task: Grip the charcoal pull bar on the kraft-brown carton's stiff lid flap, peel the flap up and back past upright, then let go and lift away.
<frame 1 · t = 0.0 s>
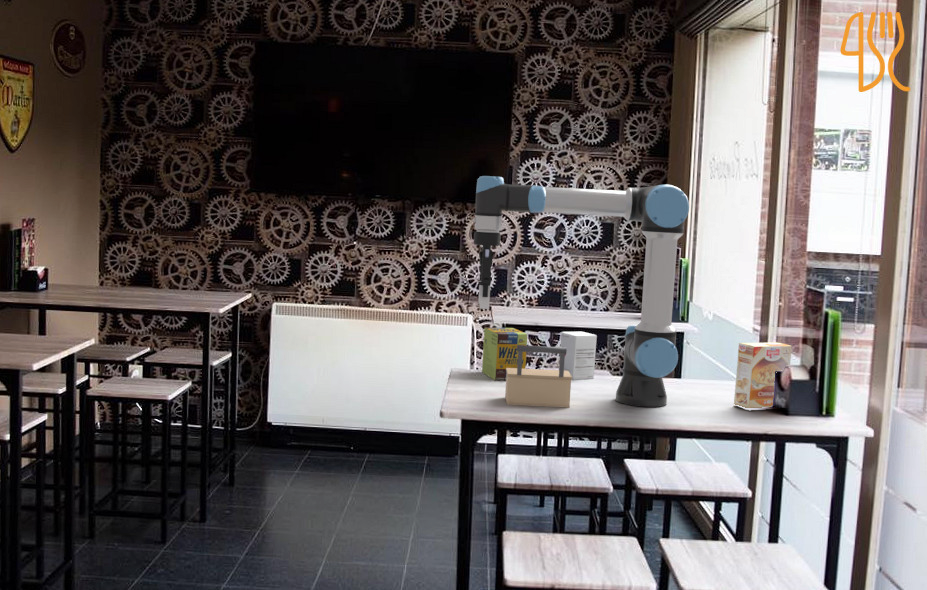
hand: (483, 306, 278), 28 cm above the table, tool pointing down, fingers open, 13 cm apart
protein box: (503, 377, 326), on the table
flap: (539, 359, 285), point 13 cm above the table, hinge at 0.0°
coffeecake box: (760, 408, 295), on the table
carton: (536, 402, 287), on the table
supplement box: (575, 377, 333), on the table
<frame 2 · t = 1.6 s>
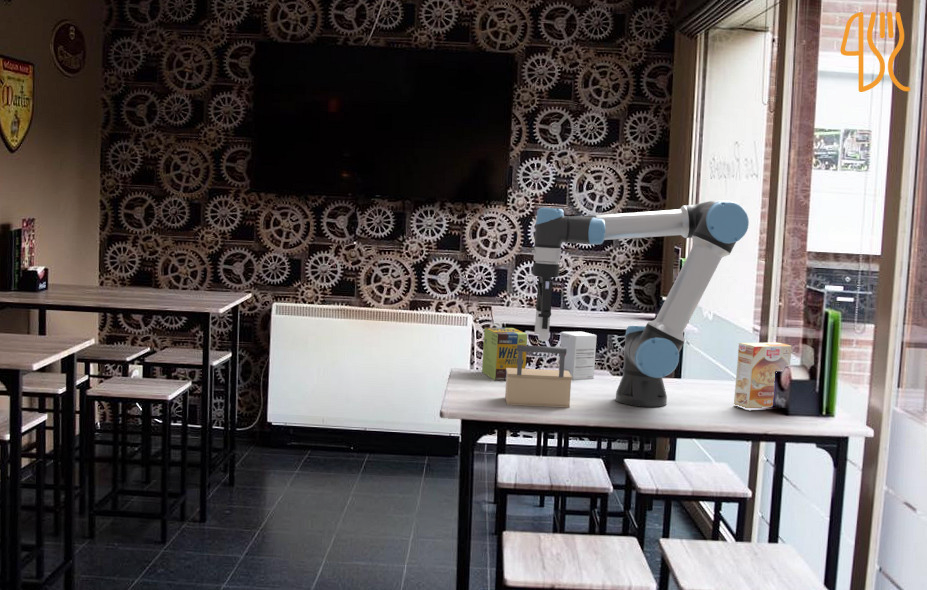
hand: (541, 337, 279), 20 cm above the table, tool pointing down, fingers open, 13 cm apart
nothing on the table moved.
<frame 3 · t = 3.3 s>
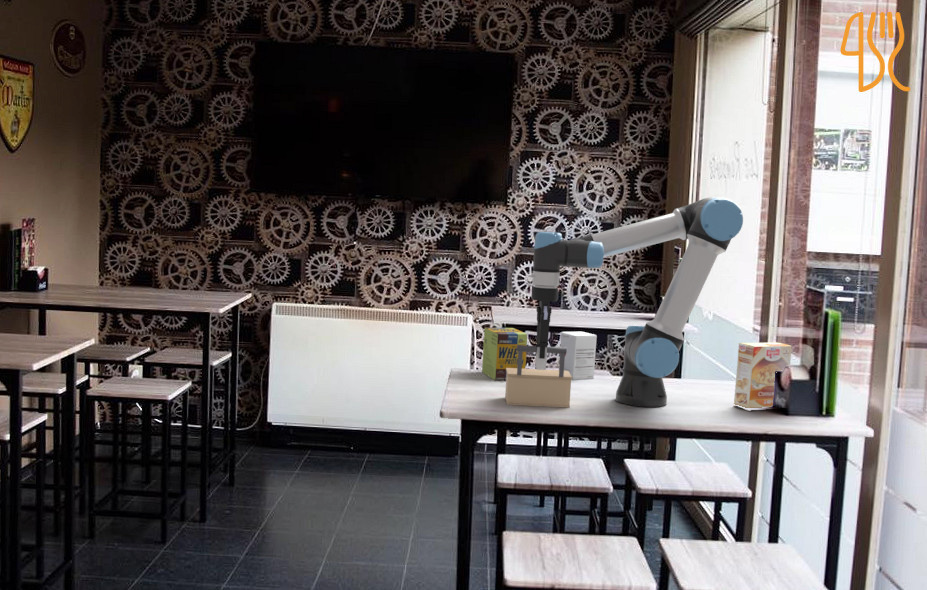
hand: (540, 368, 280), 11 cm above the table, tool pointing down, fingers closed on flap, 2 cm apart
flap: (539, 359, 285), point 13 cm above the table, hinge at 0.0°, touching gripper
everything else where it was.
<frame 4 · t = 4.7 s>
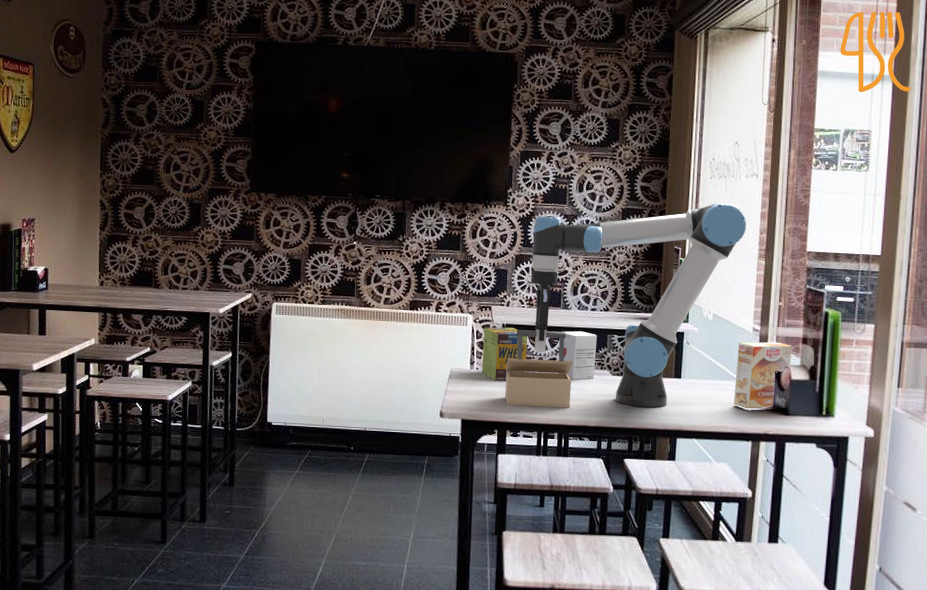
hand: (539, 351, 284), 15 cm above the table, tool pointing down, fingers open, 2 cm apart
flap: (539, 351, 287), point 15 cm above the table, hinge at 25.6°, touching gripper
everything else where it was.
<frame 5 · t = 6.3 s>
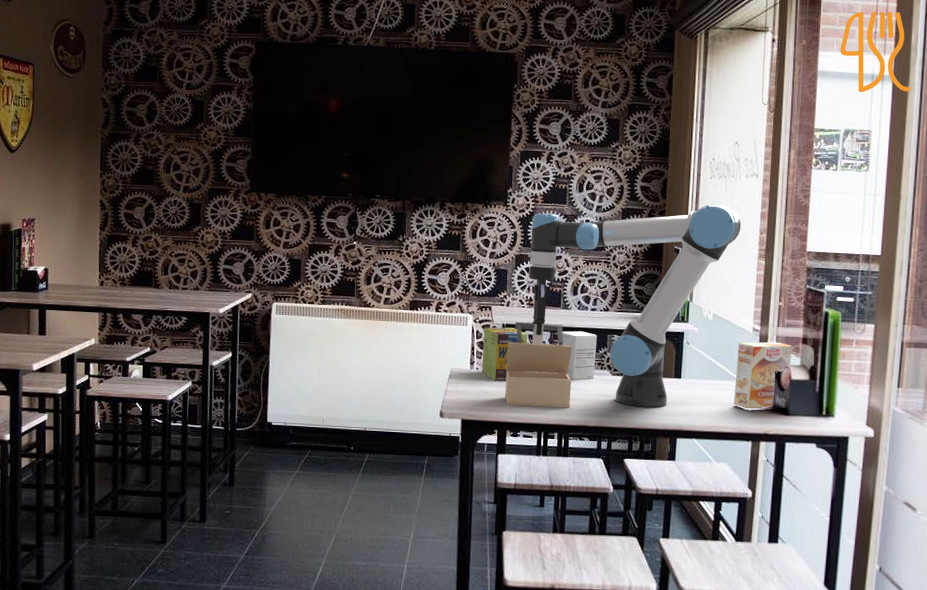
hand: (537, 344, 292), 16 cm above the table, tool pointing down, fingers closed on flap, 2 cm apart
flap: (538, 347, 291), point 15 cm above the table, hinge at 59.2°, touching gripper
everything else where it was.
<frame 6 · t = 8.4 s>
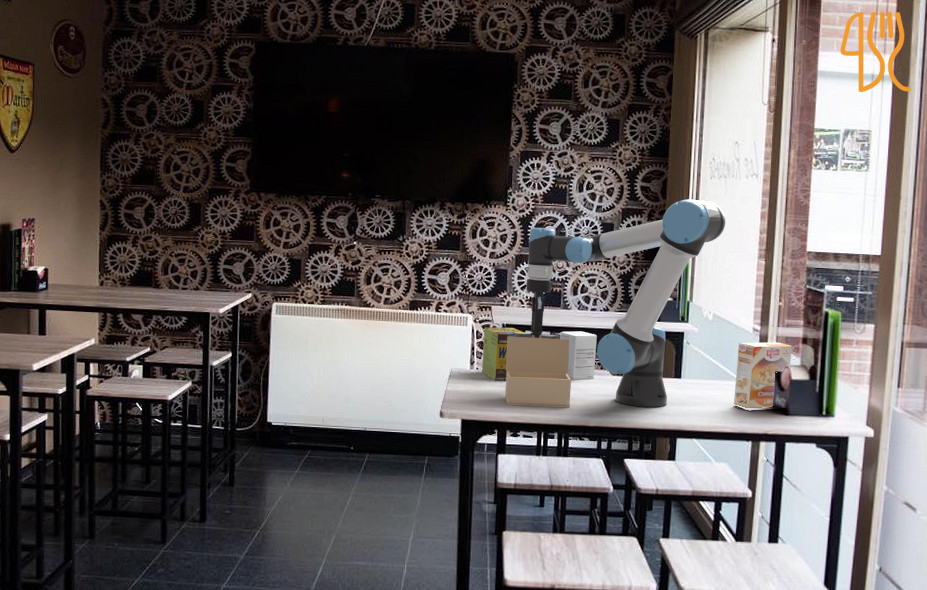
hand: (534, 355, 301), 12 cm above the table, tool pointing down, fingers open, 3 cm apart
flap: (536, 352, 296), point 13 cm above the table, hinge at 99.2°
everything else where it was.
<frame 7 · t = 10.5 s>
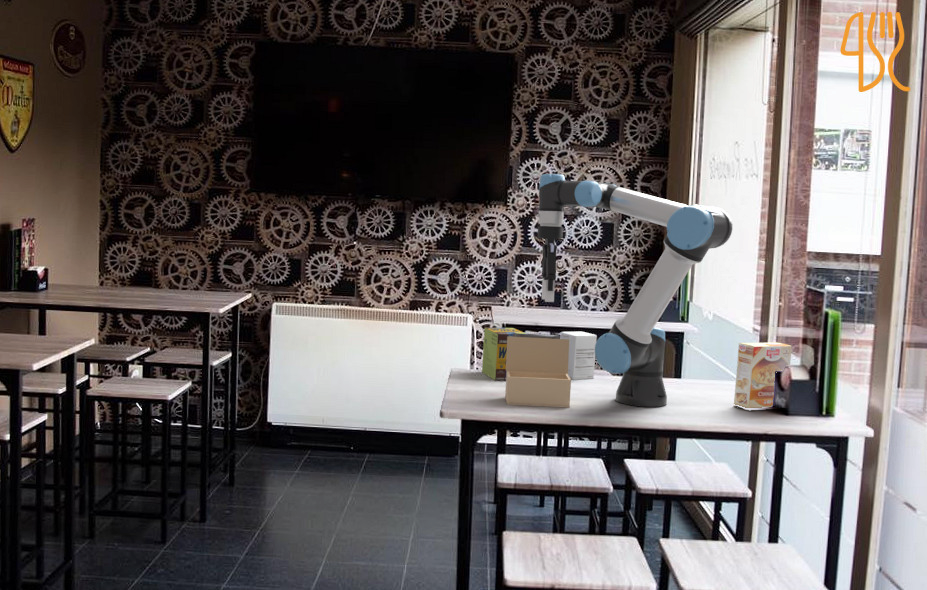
hand: (547, 300, 299), 29 cm above the table, tool pointing down, fingers open, 8 cm apart
nothing on the table moved.
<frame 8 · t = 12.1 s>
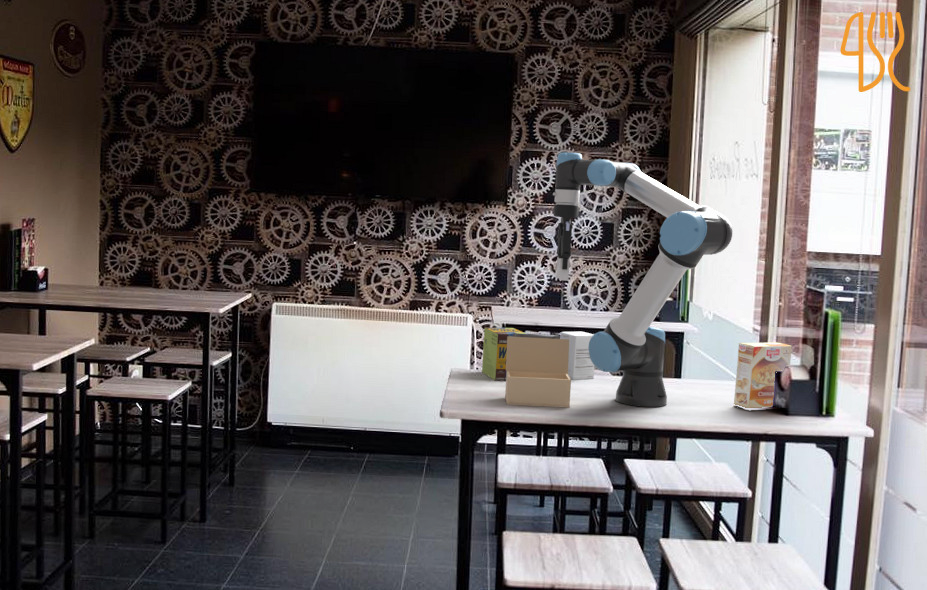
hand: (562, 279, 299), 35 cm above the table, tool pointing down, fingers open, 8 cm apart
nothing on the table moved.
at the end: flap at +99° (first picture: +0°); the gripper is holding nothing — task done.
